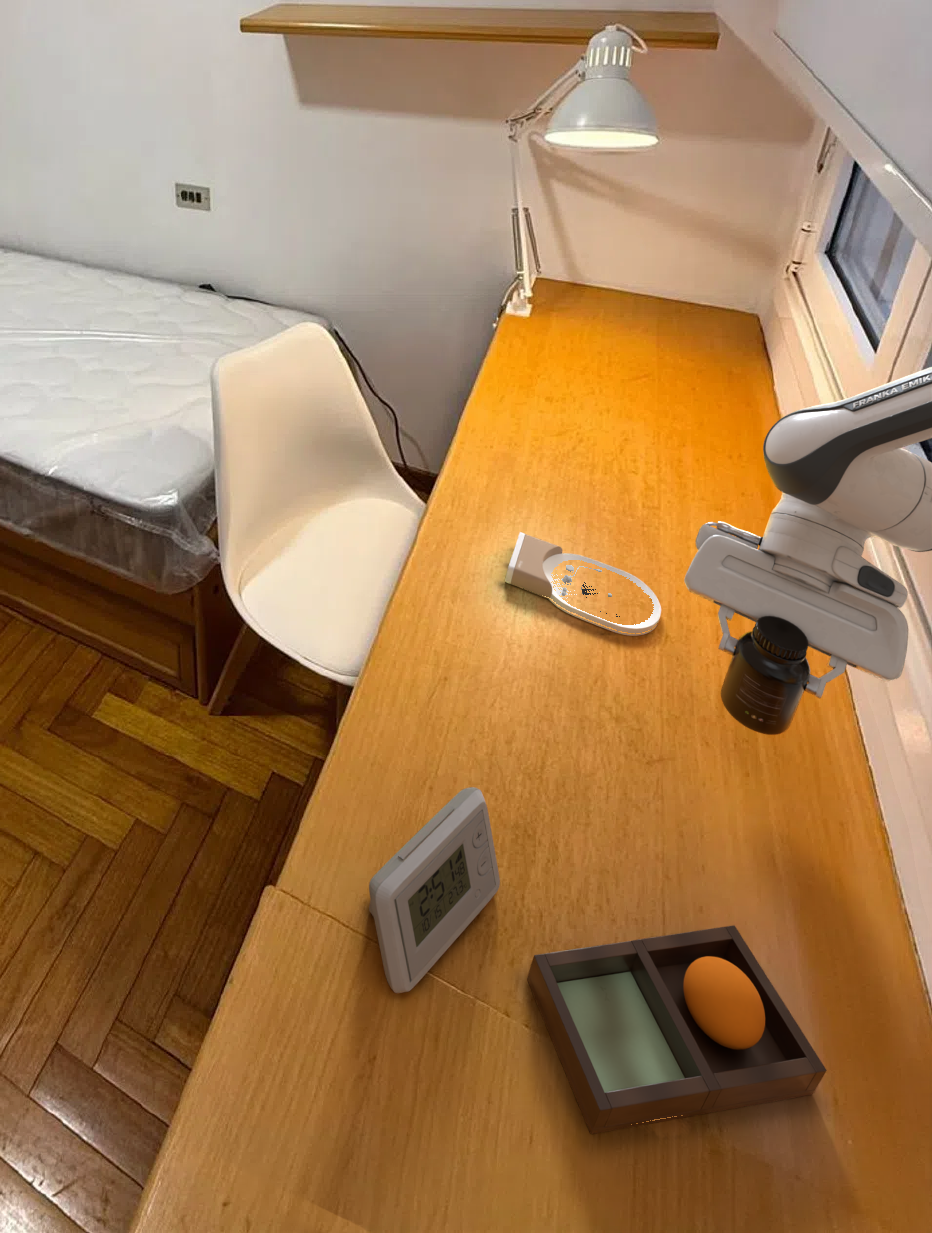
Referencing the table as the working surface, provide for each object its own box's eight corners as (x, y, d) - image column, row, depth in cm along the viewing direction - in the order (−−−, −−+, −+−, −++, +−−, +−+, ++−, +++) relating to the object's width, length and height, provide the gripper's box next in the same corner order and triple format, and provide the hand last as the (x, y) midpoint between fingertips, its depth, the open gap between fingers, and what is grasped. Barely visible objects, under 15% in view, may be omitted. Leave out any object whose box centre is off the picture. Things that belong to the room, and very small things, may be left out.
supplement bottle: (724, 673, 97) (751, 597, 92) (792, 706, 93) (824, 628, 88) (713, 713, 92) (741, 635, 88) (785, 750, 88) (818, 670, 84)
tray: (723, 948, 78) (734, 924, 76) (813, 1094, 68) (827, 1070, 67) (526, 978, 75) (533, 954, 74) (590, 1134, 66) (600, 1110, 64)
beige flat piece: (522, 525, 127) (666, 577, 118) (518, 540, 128) (660, 593, 119) (506, 573, 118) (661, 633, 108) (502, 589, 119) (655, 650, 110)
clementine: (721, 975, 75) (739, 937, 73) (770, 1059, 70) (792, 1020, 67) (661, 984, 74) (677, 946, 72) (706, 1070, 69) (725, 1031, 67)
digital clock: (390, 1009, 73) (404, 939, 69) (333, 907, 80) (342, 838, 76) (523, 920, 80) (543, 851, 76) (459, 833, 87) (473, 766, 83)
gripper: (705, 509, 97) (664, 619, 94) (927, 598, 84) (888, 728, 81) (704, 519, 101) (665, 625, 99) (915, 605, 89) (877, 729, 86)
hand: (768, 673), depth 90 cm, fingers closed on supplement bottle, 7 cm apart
